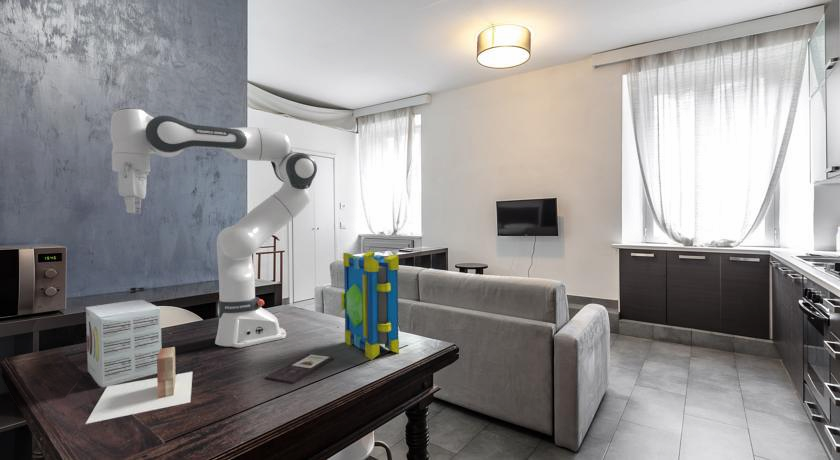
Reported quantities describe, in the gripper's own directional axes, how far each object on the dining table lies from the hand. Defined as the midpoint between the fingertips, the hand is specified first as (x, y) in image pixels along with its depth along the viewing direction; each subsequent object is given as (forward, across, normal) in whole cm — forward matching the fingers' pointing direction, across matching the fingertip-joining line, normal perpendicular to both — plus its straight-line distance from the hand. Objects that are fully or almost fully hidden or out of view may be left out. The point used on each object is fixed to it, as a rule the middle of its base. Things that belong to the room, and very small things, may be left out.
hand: (133, 213), depth 112 cm
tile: (+43, -29, -9) cm, 53 cm away
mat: (+43, -29, -5) cm, 53 cm away
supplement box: (+44, -10, +2) cm, 45 cm away
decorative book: (+44, -24, -63) cm, 81 cm away
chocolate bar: (+45, -30, -40) cm, 67 cm away
